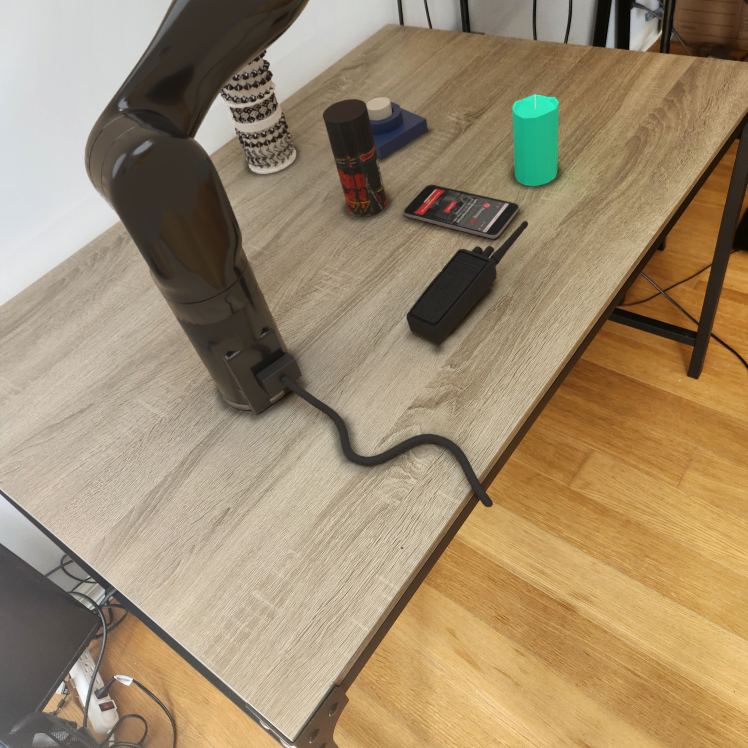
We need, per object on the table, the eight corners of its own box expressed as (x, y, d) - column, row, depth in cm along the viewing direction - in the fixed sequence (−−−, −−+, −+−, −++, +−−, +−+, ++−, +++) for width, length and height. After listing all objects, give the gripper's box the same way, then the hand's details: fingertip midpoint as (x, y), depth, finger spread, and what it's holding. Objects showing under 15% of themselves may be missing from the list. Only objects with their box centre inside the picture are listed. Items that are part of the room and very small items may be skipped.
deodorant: (343, 201, 98) (318, 108, 87) (380, 188, 99) (359, 94, 88) (354, 222, 94) (329, 128, 83) (392, 208, 95) (372, 113, 84)
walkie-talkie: (393, 317, 77) (488, 211, 84) (428, 353, 78) (520, 245, 85) (414, 306, 72) (514, 193, 78) (452, 345, 73) (548, 230, 79)
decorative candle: (292, 172, 107) (238, 13, 88) (240, 177, 109) (177, 22, 90) (304, 142, 112) (256, -14, 93) (254, 147, 114) (198, -5, 96)
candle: (565, 175, 92) (568, 94, 83) (528, 191, 91) (526, 111, 82) (543, 156, 96) (543, 77, 87) (507, 171, 95) (503, 93, 86)
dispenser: (428, 130, 107) (424, 108, 104) (381, 159, 104) (376, 137, 101) (386, 112, 113) (382, 90, 110) (342, 139, 110) (336, 117, 107)
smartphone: (428, 183, 96) (521, 204, 88) (428, 187, 96) (521, 208, 89) (401, 212, 92) (495, 236, 85) (402, 216, 93) (495, 240, 86)
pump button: (397, 113, 105) (395, 101, 104) (378, 124, 104) (376, 112, 103) (382, 106, 108) (379, 94, 106) (363, 117, 106) (360, 105, 105)
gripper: (293, -144, 73) (330, 18, 86) (237, -148, 81) (278, 0, 93) (237, -121, 70) (284, 42, 83) (185, -128, 78) (234, 22, 91)
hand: (280, 20), depth 88 cm, fingers closed
